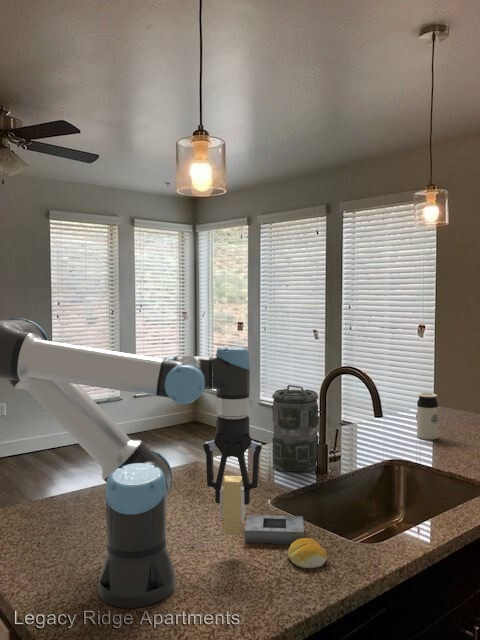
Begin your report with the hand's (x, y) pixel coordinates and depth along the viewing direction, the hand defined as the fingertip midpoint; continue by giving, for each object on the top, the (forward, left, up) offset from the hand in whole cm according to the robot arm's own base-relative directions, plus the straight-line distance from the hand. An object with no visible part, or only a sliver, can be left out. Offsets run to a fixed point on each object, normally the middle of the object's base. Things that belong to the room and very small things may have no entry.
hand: (232, 516), depth 121 cm
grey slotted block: (+10, -9, -8) cm, 16 cm away
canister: (+64, -15, -8) cm, 66 cm away
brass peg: (0, 0, -3) cm, 3 cm away
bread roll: (-2, -17, -9) cm, 19 cm away
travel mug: (+105, -70, -8) cm, 127 cm away
